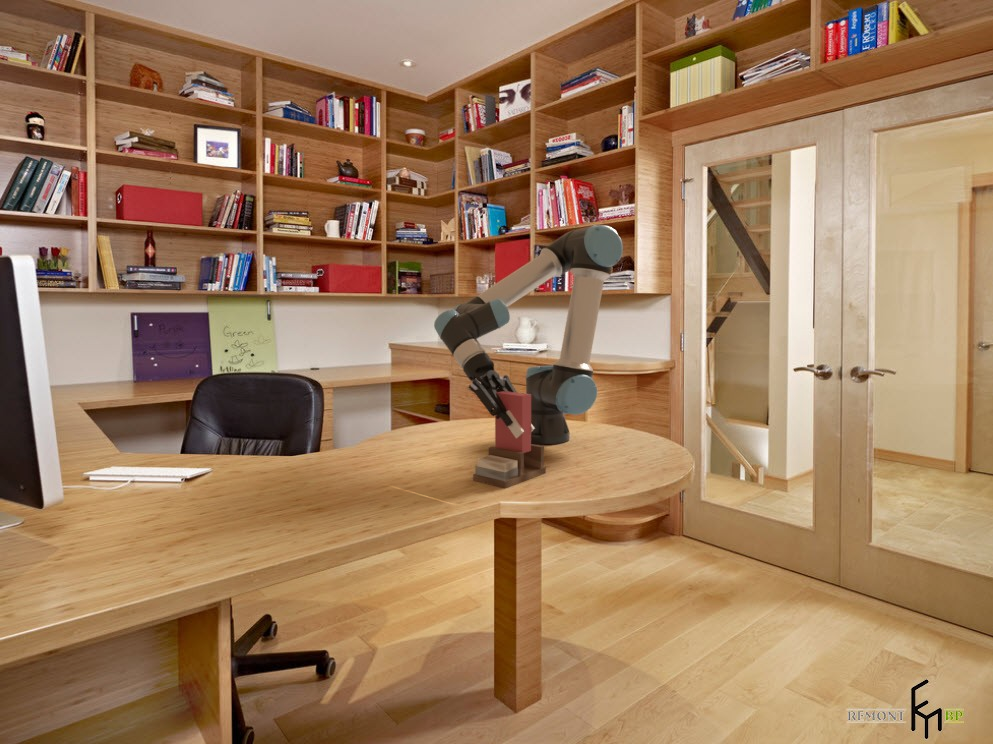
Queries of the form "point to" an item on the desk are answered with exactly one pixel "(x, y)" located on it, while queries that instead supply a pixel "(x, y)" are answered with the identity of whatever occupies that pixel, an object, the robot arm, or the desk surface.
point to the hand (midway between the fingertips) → (525, 433)
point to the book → (522, 413)
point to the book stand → (509, 466)
